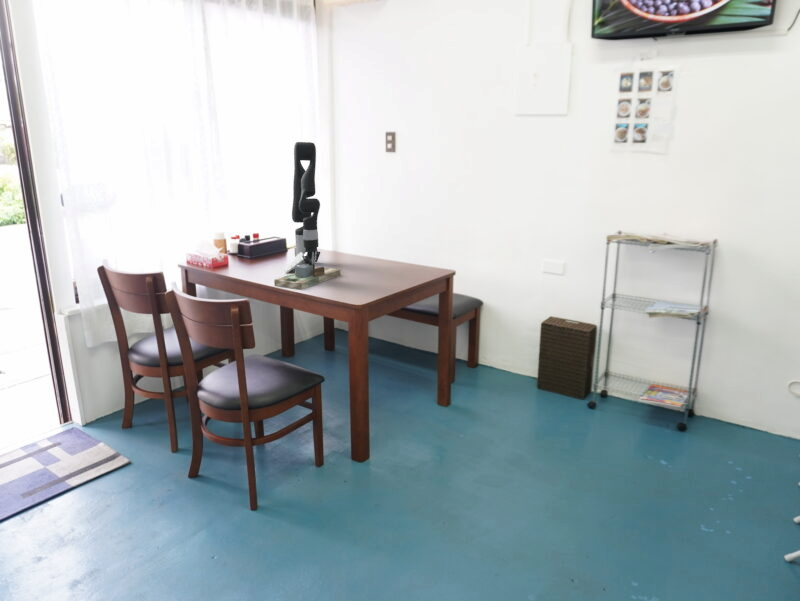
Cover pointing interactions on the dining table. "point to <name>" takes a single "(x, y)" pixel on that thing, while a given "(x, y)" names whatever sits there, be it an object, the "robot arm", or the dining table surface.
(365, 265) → the dining table surface
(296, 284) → the tunnel deck
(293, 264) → the bracket
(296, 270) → the grey block
